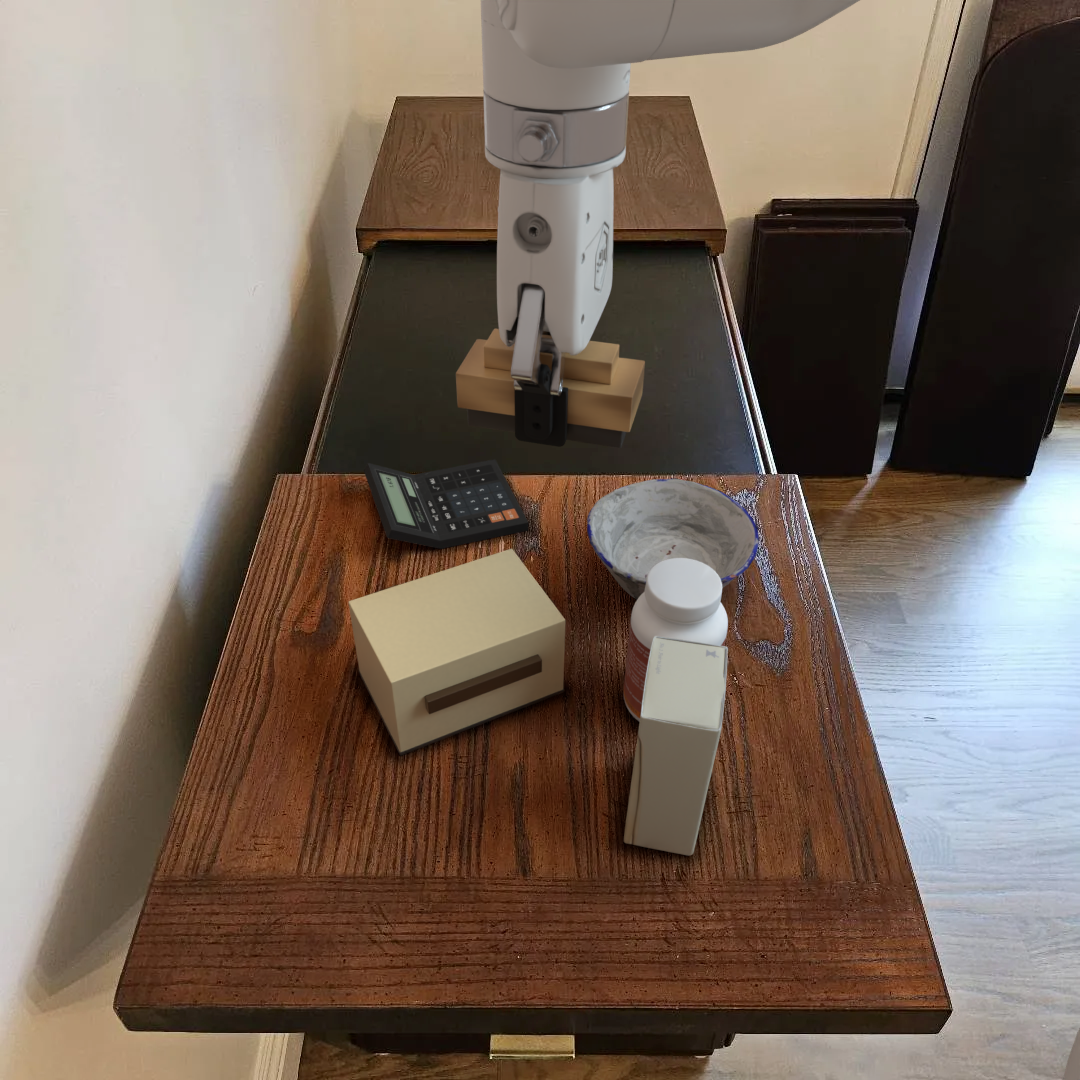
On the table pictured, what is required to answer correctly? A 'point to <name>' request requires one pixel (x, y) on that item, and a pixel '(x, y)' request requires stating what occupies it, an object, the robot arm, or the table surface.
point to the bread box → (458, 649)
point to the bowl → (670, 530)
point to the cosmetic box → (676, 743)
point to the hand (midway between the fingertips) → (551, 416)
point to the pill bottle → (672, 617)
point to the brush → (591, 378)
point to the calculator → (445, 504)
